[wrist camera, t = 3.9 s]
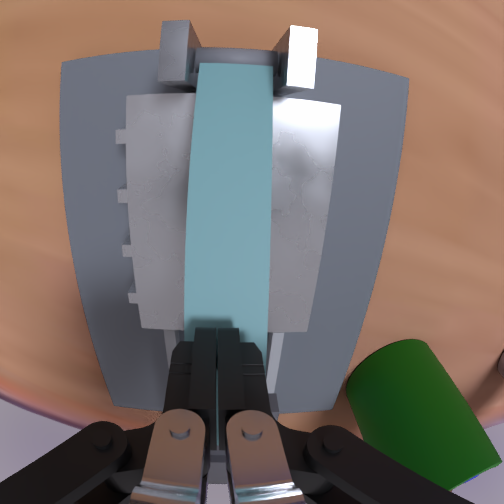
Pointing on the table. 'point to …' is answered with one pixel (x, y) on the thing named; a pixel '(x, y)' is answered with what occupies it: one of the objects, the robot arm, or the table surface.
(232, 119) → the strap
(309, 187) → the silver toothed block
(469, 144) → the table surface
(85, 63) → the board
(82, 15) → the table surface
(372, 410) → the motor
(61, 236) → the table surface
